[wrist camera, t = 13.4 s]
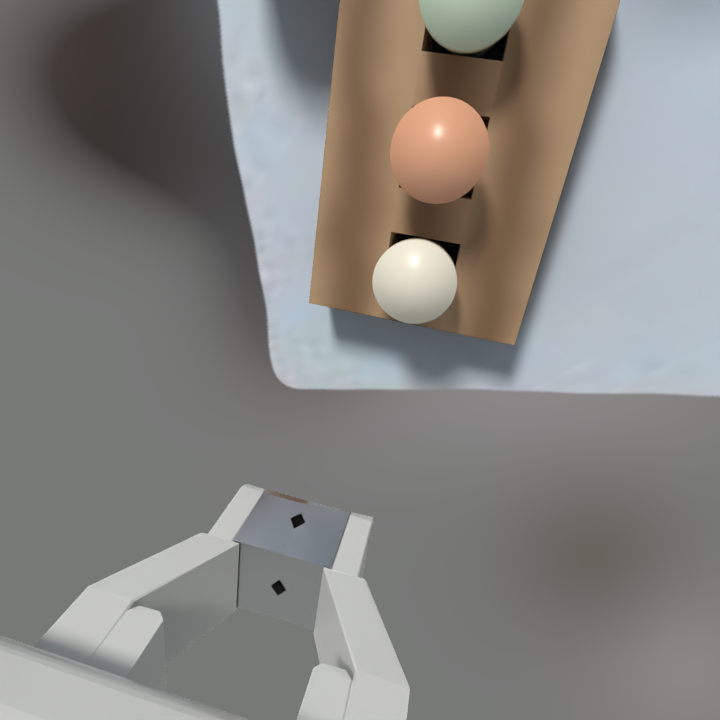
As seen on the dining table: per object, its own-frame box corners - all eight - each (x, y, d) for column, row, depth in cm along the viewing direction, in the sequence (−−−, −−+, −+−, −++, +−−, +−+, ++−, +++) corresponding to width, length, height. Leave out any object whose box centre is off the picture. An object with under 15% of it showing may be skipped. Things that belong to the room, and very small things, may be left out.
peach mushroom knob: (493, 116, 32) (501, 104, 25) (473, 201, 34) (475, 211, 27) (413, 105, 32) (399, 89, 26) (399, 189, 35) (382, 195, 28)
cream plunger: (466, 232, 36) (466, 249, 29) (450, 301, 38) (446, 331, 32) (395, 220, 37) (379, 233, 30) (384, 288, 39) (366, 314, 32)
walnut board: (614, -34, 29) (641, -69, 24) (508, 324, 39) (514, 345, 34) (366, -58, 31) (349, -95, 27) (326, 287, 41) (309, 302, 37)
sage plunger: (526, -24, 29) (543, -79, 23) (502, 78, 32) (511, 55, 25) (438, -33, 30) (430, -89, 23) (421, 67, 32) (409, 43, 26)
